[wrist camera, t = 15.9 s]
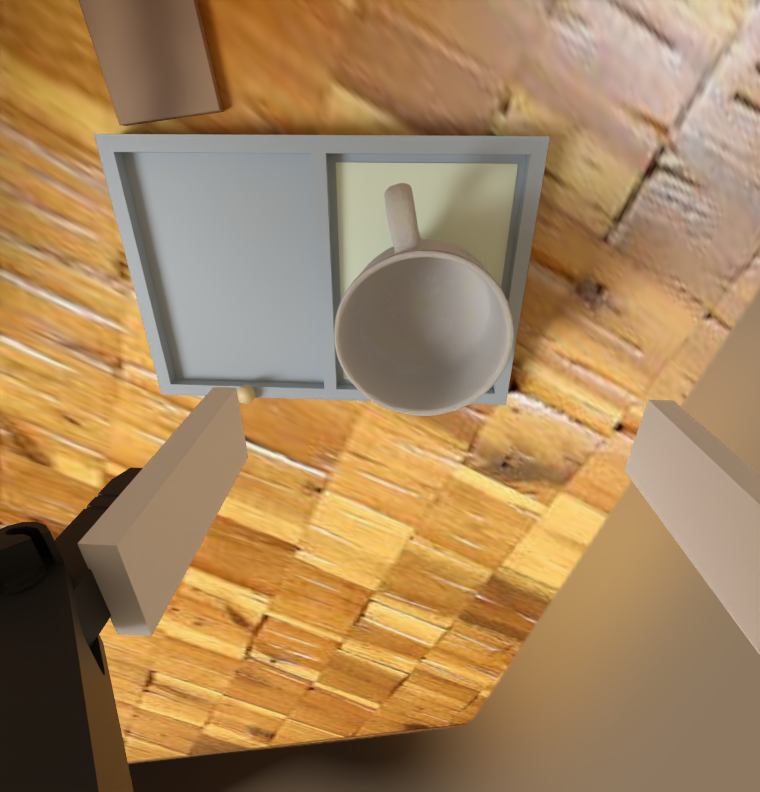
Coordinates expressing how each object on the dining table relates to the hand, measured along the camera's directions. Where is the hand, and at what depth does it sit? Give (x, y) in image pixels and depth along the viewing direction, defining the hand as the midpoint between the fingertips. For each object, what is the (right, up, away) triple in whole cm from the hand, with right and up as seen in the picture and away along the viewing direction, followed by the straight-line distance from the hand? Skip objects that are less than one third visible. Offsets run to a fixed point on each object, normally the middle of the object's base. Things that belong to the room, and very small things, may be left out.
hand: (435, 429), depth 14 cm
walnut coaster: (-16, +23, +14) cm, 31 cm away
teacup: (+1, +10, +18) cm, 21 cm away
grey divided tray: (-6, +10, +19) cm, 23 cm away
